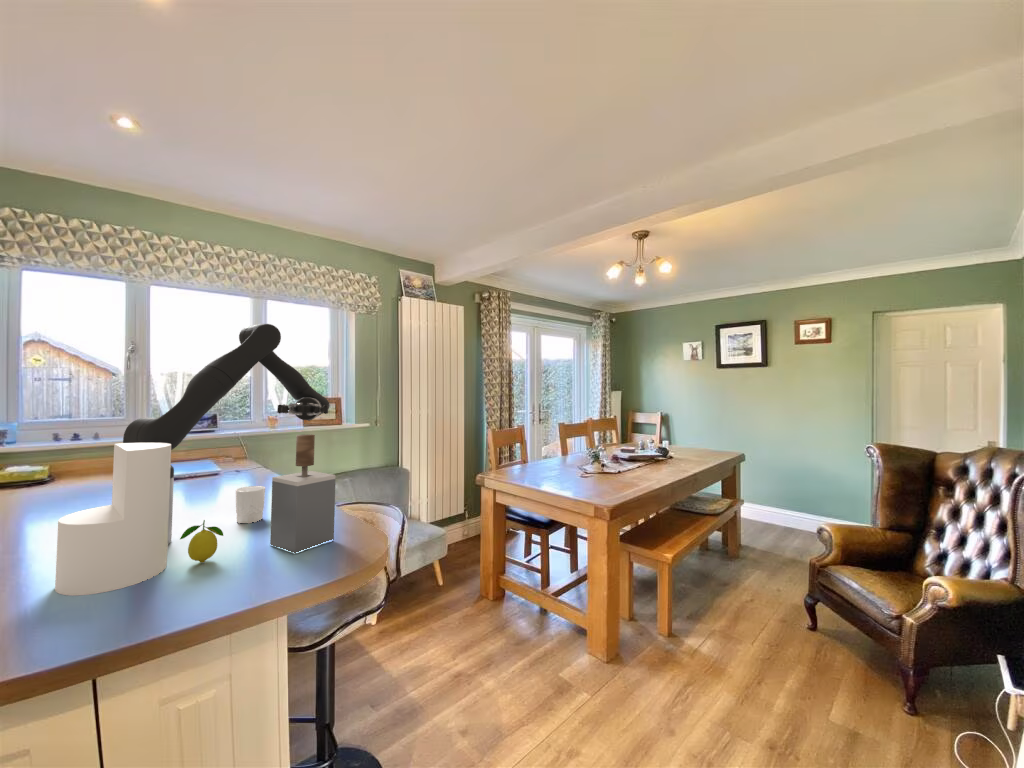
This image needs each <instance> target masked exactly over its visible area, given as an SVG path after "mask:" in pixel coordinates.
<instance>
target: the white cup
mask: <svg viewBox="0 0 1024 768" xmlns="http://www.w3.org/2000/svg"><path fill="white" fill-rule="evenodd" d="M265 496H266V486H263V485H250V486H242V487H239V488H236V489H235V509H236V510H235V511H236V523H237V522H238V523H237V524H240V523H248V524H253V523H252V522H254V523H258V522H260V521H262V520H263V515H264V512H263V511H264V508H265V498H266V497H265ZM261 519H262V520H261ZM259 520H260V521H259ZM257 521H258V522H257Z"/></svg>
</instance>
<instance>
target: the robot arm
mask: <svg viewBox="0 0 1024 768" xmlns="http://www.w3.org/2000/svg"><path fill="white" fill-rule="evenodd" d="M238 340H239V343H240V345H238V346H237V347H235V348H234V349H231V350H230V351H228V352H226V353H224V354H223V355H221V356H219V357H217V358H216V359H214V360H212V361H210V362H209V363H207V365H205V366H204V367H203V368H202V369H201V370H199V371H198V372H197V373H196V374H194V376H193V377H192V378H191V379H190V381H189V382H188V384H187V387H186V388H185V391H184V393H183V396H182V397H181V398H180V399H179V401H177V403H176V404H175V405H174V406H173V407H171V408H170V409H169V410H168V411H167V412H165V413H164V414H162V415H161V416H159V417H142V418H141V417H140V418H138V419H135V420H133V421H132V422H131V423H128V425H127V427H126V428H125V430H124V433H123V439H122V443H169V444H171V451H172V450H174V449H175V448H177V446H179V445H180V444H181V443H182V442H183V441H184V439H185V438H186V437H187V436H188V434H189V433H190V432H191V431H192V429H193V428H194V427H195V426H196V425H197V424H198V422H199V421H200V420H201V419H202V418H203V417H204V416H205V415H206V414H207V413H208V412H210V410H211V409H212V408H213V407H214V406H215V405H216V404H217V403H218V402H219V401H221V399H222V398H223V397H225V396H226V395H227V394H229V392H230V391H231V390H232V389H233V388H234V387H235V386H236V385H237V384H239V382H240V381H241V380H242V379H243V378H244V377H245V376H246V375H247V374H248V373H249V372H250V371H251V369H252V368H254V366H255V365H256V364H258V363H260V364H261V365H262V366H263V367H264V368H265V369H266V370H267V371H268V372H270V373H271V375H273V376H274V377H275V378H276V380H277V381H279V382H280V384H281V385H282V386H283V387H284V389H285V390H286V391H287V392H288V393H289V394H290V396H291V397H292V399H294V400H296V402H295V403H289V404H277V410H276V411H277V412H276V413H278V414H285V415H286V414H289V415H295V416H296V417H297V418H298V419H299V420H303V421H307V422H309V421H313V420H314V419H316V418H318V417H319V416H320V415H323V414H325V415H327V414H329V409H330V406H331V405H330V402H329V400H328V399H327V398H326V397H325V396H323V395H322V394H320V393H319V392H317V391H316V390H315V389H314V388H313V387H312V386H311V385H310V384H309V383H308V381H307V380H306V379H305V377H304V376H303V375H302V374H301V373H300V372H299V370H297V369H296V368H294V367H293V366H292V365H290V364H288V362H286V361H284V360H283V358H280V357H279V356H278V355H277V354H276V352H275V350H276V349H277V348H278V347H279V345H280V343H281V341H282V334H281V332H280V330H279V328H278V327H277V326H275V325H273V324H270V323H258V324H252V325H249V326H246V327H243V328H242V329H241V331H240V332H239V335H238ZM174 477H175V468H174V466H173V465H172V464H171V466H170V492H169V518H168V544H167V545H169V544H170V543H172V538H173V537H172V536H173V506H174V487H175V486H174V484H175V483H174V479H175V478H174Z"/></svg>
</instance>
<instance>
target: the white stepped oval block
mask: <svg viewBox="0 0 1024 768" xmlns="http://www.w3.org/2000/svg"><path fill="white" fill-rule="evenodd" d="M113 446H114V447H113V462H112V463H113V466H112V486H111V487H112V489H111V490H112V493H111V504H108V505H102V506H97V507H92V508H87V509H83V510H79V511H75V512H72V513H69V514H65V515H64V516H62V517H60V518H59V519H58V522H57V540H56V541H57V542H56V561H55V563H56V565H55V581H54V582H55V586H54V587H55V588H54V591H55V592H56V593H57V594H59V595H64V596H75V597H76V596H77V597H78V596H88V595H95V594H102V593H107V592H112V591H116V590H120V589H124V588H128V587H130V586H134V585H137V584H139V583H142V581H143V582H145V581H148V580H150V579H152V578H154V577H156V576H158V575H159V573H160V572H161V573H163V572H164V571H165V570H166V569H167V567H166V566H168V565H167V564H168V545H169V544H168V518H169V492H170V466H171V465H172V464H171V463H172V462H171V461H172V450H171V444H169V443H123V442H121V443H114V444H113ZM164 569H165V570H164ZM163 570H164V571H163ZM161 573H160V574H161ZM153 576H154V577H153ZM147 579H148V580H147Z"/></svg>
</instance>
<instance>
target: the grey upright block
mask: <svg viewBox="0 0 1024 768" xmlns="http://www.w3.org/2000/svg"><path fill="white" fill-rule="evenodd" d="M336 477H337V475H336V474H332V473H327V472H320V471H314V470H308V474H307V477H304V478H302V471H301V472H295V473H290V474H284V475H277V476H272V477H271V478H272V479H271V505H270V506H271V508H270V510H271V511H270V512H271V514H270V535H269V537H270V538H269V539H270V540H269V541H270V542H269V545H270V544H271V545H273V546H276V547H280V548H283V549H286V550H288V551H291V552H294V553H296V552H299V551H301V550H304V549H307V548H310V547H312V546H315V545H318V544H321V543H323V542H326V541H329V540H332V539H334V540H335V513H336V512H335V510H336Z"/></svg>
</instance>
